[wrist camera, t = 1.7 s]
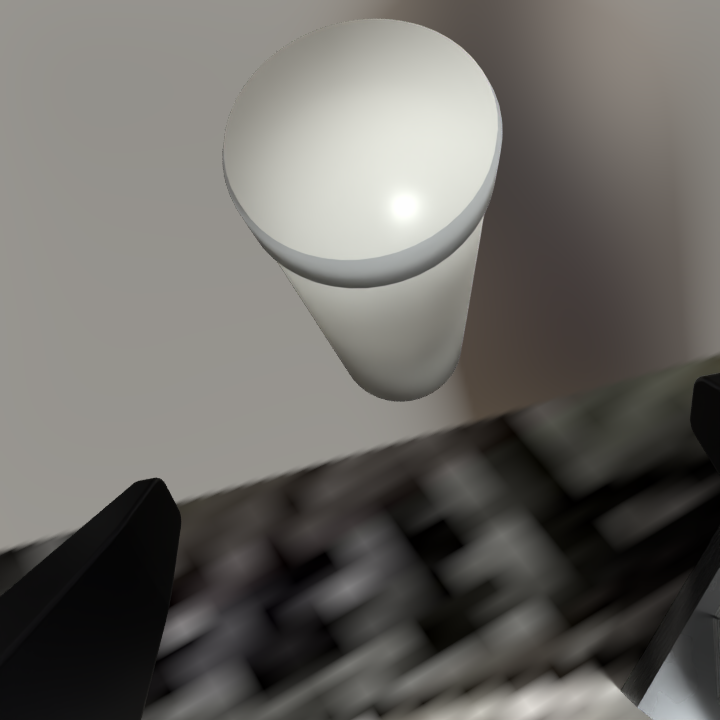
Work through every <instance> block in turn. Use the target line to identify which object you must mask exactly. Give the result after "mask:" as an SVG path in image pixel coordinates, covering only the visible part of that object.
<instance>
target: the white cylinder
mask: <svg viewBox="0 0 720 720" xmlns="http://www.w3.org/2000/svg"><path fill="white" fill-rule="evenodd" d="M501 144H502V119H501V113H500V108H499V104H498V101H497V98H496V95H495V93H494V90H493V88H492V86H491V85H490V83H489V81H488V79H487V77H486V76H485V75H484V73H483V71H482V70H481V68H480V67H479V66H478V64H477V63H476V62H475V60H474V59H473V58H472V57H471V56H470V55H469V54H468V53H467V52H466V51H465V50H464V49H463V48H461V47H460V46H459V45H457V44H456V43H455V42H453V41H452V40H451V39H449V38H447V37H445V36H444V35H442V34H440V33H438V32H436V31H434V30H431V29H429V28H426V27H423V26H421V25H417V24H413V23H409V22H405V21H398V20H391V19H361V20H352V21H347V22H341V23H337V24H333V25H330V26H326V27H323V28H320V29H318V30H315V31H313V32H310V33H308V34H306V35H304V36H302V37H300V38H298V39H296V40H294V41H292V42H291V43H289V44H288V45H286V46H285V47H283V48H282V49H280V50H279V51H277V52H276V53H275V54H274V55H272V56H271V57H270V58H269V59H268V60H266V61H265V62H264V63H263V64H262V65H261V66H260V67H259V68H258V69H257V70H256V71H255V73H254V74H253V75H252V76H251V78H250V79H249V80H248V81H247V83H246V84H245V85H244V87H243V89H242V90H241V92H240V94H239V96H238V97H237V99H236V101H235V103H234V105H233V108H232V110H231V112H230V115H229V119H228V122H227V126H226V130H225V137H224V145H223V170H224V177H225V182H226V185H227V188H228V191H229V194H230V197H231V199H232V201H233V203H234V205H235V207H236V209H237V210H238V212H239V213H240V215H241V216H242V218H243V219H244V221H245V222H246V224H247V225H248V227H249V228H250V230H251V231H252V233H253V234H254V236H255V237H256V238H257V240H258V241H259V243H260V244H261V246H262V247H263V248H264V249H265V250H266V251H267V252H268V253H269V254H270V255H271V256H272V257H273V259H275V260H276V261H277V262H278V264H279V265H280V267H281V268H282V270H283V271H284V273H285V274H286V276H287V277H288V279H289V281H290V282H291V284H292V285H293V287H294V289H295V290H296V292H297V293H298V295H299V296H300V298H301V299H302V301H303V302H304V304H305V306H306V307H307V309H308V310H309V312H310V313H311V315H312V316H313V318H314V320H315V321H316V323H317V324H318V326H319V327H320V329H321V330H322V332H323V333H324V335H325V336H326V338H327V340H328V341H329V343H330V344H331V346H332V347H333V349H334V351H335V352H336V354H337V355H338V357H339V358H340V360H341V361H342V363H343V364H344V366H345V368H346V369H347V370H348V372H349V374H350V375H351V376H352V378H353V379H354V381H355V382H356V383H357V384H358V385H359V386H360V387H361V388H363V389H364V390H365V391H367V392H368V393H370V394H372V395H374V396H376V397H378V398H381V399H385V400H389V401H400V402H401V401H412V400H416V399H420V398H422V397H425V396H427V395H429V394H431V393H433V392H434V391H436V390H437V389H439V388H440V387H441V386H442V385H443V384H444V383H445V382H446V381H447V380H448V379H449V378H450V376H451V375H452V373H453V372H454V370H455V368H456V366H457V364H458V361H459V358H460V354H461V348H462V342H463V336H464V330H465V325H466V318H467V312H468V307H469V301H470V295H471V289H472V283H473V277H474V271H475V265H476V259H477V253H478V247H479V241H480V235H481V230H482V223H483V218H484V213H485V211H486V209H487V207H488V204H489V202H490V199H491V195H492V192H493V188H494V184H495V179H496V173H497V168H498V162H499V157H500V150H501Z"/></svg>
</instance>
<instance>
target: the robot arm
mask: <svg viewBox="0 0 720 720" xmlns="http://www.w3.org/2000/svg"><path fill="white" fill-rule="evenodd" d="M690 422H691V427H692V430H693V432H694V434H695V436H696V438H697V439H698V441H699V443H700V444H701V446H702V447H703V449H704V451H705V452H706V454H707V456H708V457H709V459H710V461H711V462H712V464H713V465H714V467H715V469H716V470H717V472H718V474H719V475H720V373H716V374H711V375H706V376H701V377H699V378H698V379H697V380H696V381H695V383H694V388H693V397H692V406H691V415H690ZM180 529H181V515H180V511H179V509H178V507H177V505H176V503H175V501H174V500H173V498H172V496H171V494H170V492H169V490H168V489H167V486H166V484H165V483H164V481H163V480H162V479H160V478H151V479H146V480H141V481H137V482H135V483H134V484H132V485H131V486H130V487H129V488H128V489H126V490H125V491H124V492H123V493H122V494H121V495H119V496H118V497H117V498H116V499H115V500H114V501H112V502H111V503H110V504H109V505H108V506H106V507H105V508H104V509H103V510H102V511H100V512H99V513H98V514H97V515H96V516H95V517H93V518H92V519H91V520H90V521H89V522H88V523H86V524H85V525H84V526H83V527H82V528H80V529H79V530H78V531H77V532H76V533H75V534H73V535H72V536H71V537H70V538H69V539H67V540H66V541H65V542H64V543H63V544H62V545H60V546H59V547H58V548H57V549H56V550H54V551H53V552H52V553H51V554H50V555H49V556H47V557H46V558H45V559H44V560H43V561H41V562H40V563H39V564H38V565H37V566H36V567H34V568H33V569H32V570H31V571H30V572H28V573H27V574H26V575H25V576H24V577H23V578H21V579H20V580H19V581H18V582H17V583H15V584H14V585H13V586H12V587H11V588H10V589H8V590H7V591H6V592H5V593H4V594H2V595H1V596H0V720H141V718H142V714H143V710H144V706H145V702H146V698H147V694H148V690H149V686H150V682H151V678H152V674H153V670H154V666H155V662H156V658H157V654H158V650H159V646H160V642H161V638H162V634H163V630H164V626H165V622H166V618H167V614H168V609H169V604H170V599H171V593H172V586H173V579H174V572H175V564H176V557H177V550H178V543H179V536H180Z"/></svg>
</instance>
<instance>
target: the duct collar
mask: <svg viewBox="0 0 720 720" xmlns="http://www.w3.org/2000/svg"><path fill="white" fill-rule="evenodd" d="M621 692H622V693H623V694H624V695H625V696H626V697H627V698H628V699H629V700H630V701H631V702H632V703H633V704H634V705H635V706H636V707H638V708H639V709H640V710H641V711H643V712H644V713H645V714H647V715H648V716H649V717H650V718H652V719H653V720H720V525H719V527H718V529H717V531H716V532H715V534H714V536H713V537H712V539H711V541H710V542H709V544H708V546H707V547H706V549H705V551H704V552H703V554H702V556H701V557H700V559H699V561H698V562H697V564H696V566H695V567H694V569H693V571H692V572H691V574H690V576H689V578H688V579H687V581H686V583H685V584H684V586H683V588H682V589H681V591H680V593H679V594H678V596H677V598H676V599H675V601H674V603H673V604H672V606H671V608H670V609H669V611H668V613H667V614H666V616H665V618H664V619H663V621H662V623H661V625H660V626H659V628H658V630H657V631H656V633H655V635H654V636H653V638H652V640H651V641H650V643H649V645H648V646H647V648H646V650H645V651H644V653H643V655H642V656H641V658H640V660H639V661H638V663H637V665H636V666H635V668H634V670H633V672H632V673H631V675H630V677H629V678H628V680H627V682H626V683H625V685H624V687H623V688H622V690H621Z"/></svg>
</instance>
